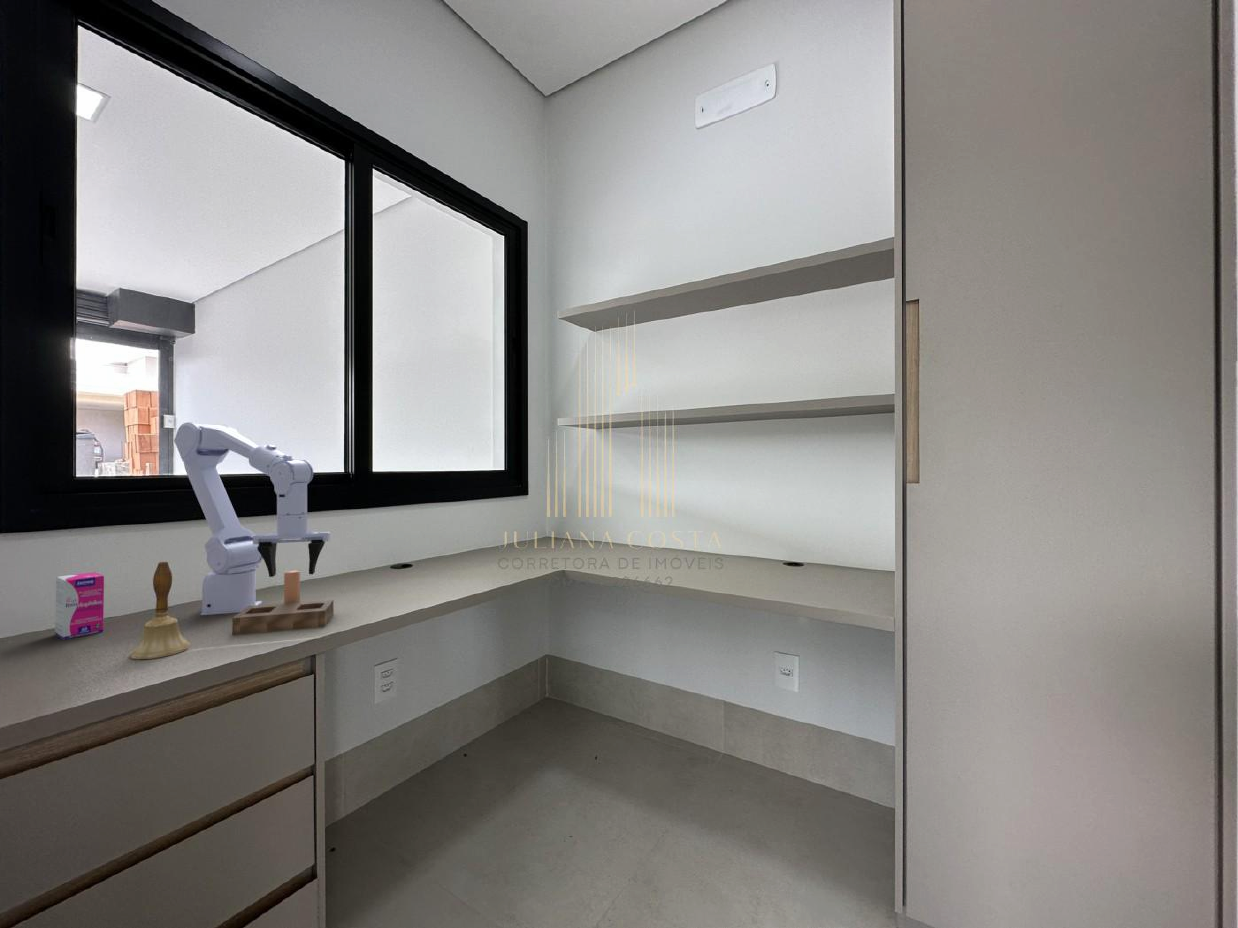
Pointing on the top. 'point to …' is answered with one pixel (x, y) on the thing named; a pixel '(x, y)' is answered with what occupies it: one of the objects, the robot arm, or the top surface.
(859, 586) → the top surface
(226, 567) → the robot arm
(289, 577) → the peg
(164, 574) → the hand bell
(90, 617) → the supplement box
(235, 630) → the hole block
